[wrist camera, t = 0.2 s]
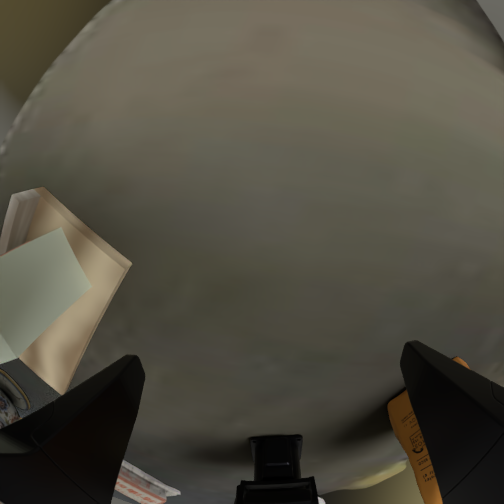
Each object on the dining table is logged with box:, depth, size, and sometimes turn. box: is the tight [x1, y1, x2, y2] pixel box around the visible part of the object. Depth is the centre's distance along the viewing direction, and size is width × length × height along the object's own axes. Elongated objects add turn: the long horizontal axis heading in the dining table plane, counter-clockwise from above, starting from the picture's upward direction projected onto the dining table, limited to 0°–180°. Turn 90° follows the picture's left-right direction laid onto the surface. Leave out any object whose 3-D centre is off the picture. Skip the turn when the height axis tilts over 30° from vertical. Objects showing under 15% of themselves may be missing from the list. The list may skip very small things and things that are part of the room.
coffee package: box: [387, 357, 471, 504], centre depth 18 cm, size 10×12×22 cm
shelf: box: [0, 187, 132, 395], centre depth 23 cm, size 12×24×4 cm, turn 142°
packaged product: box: [115, 460, 180, 504], centre depth 35 cm, size 18×5×10 cm
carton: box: [0, 227, 92, 364], centre depth 17 cm, size 6×6×11 cm
